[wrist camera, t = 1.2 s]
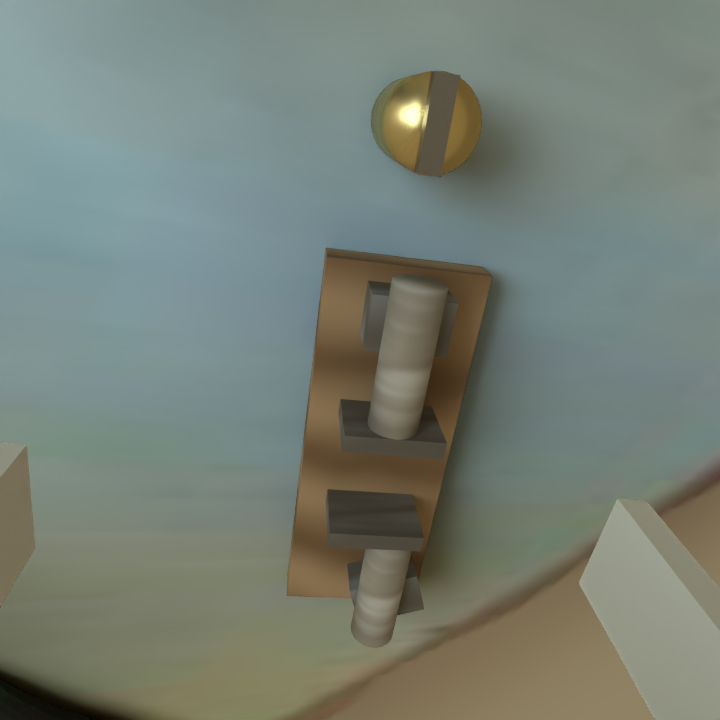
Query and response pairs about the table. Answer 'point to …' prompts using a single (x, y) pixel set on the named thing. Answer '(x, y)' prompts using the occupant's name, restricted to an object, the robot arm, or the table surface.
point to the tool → (29, 707)
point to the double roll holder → (380, 428)
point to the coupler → (427, 122)
